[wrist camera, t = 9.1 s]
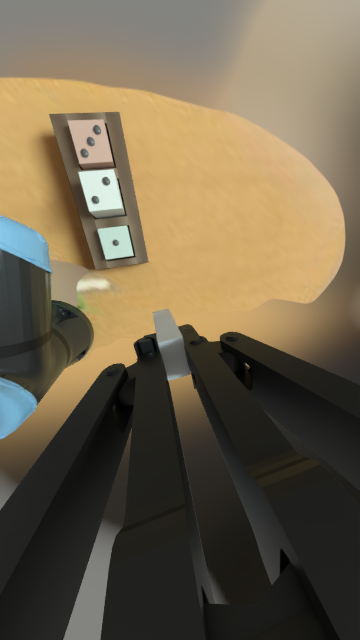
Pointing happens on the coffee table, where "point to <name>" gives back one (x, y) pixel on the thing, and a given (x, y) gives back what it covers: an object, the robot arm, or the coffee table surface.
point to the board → (123, 178)
